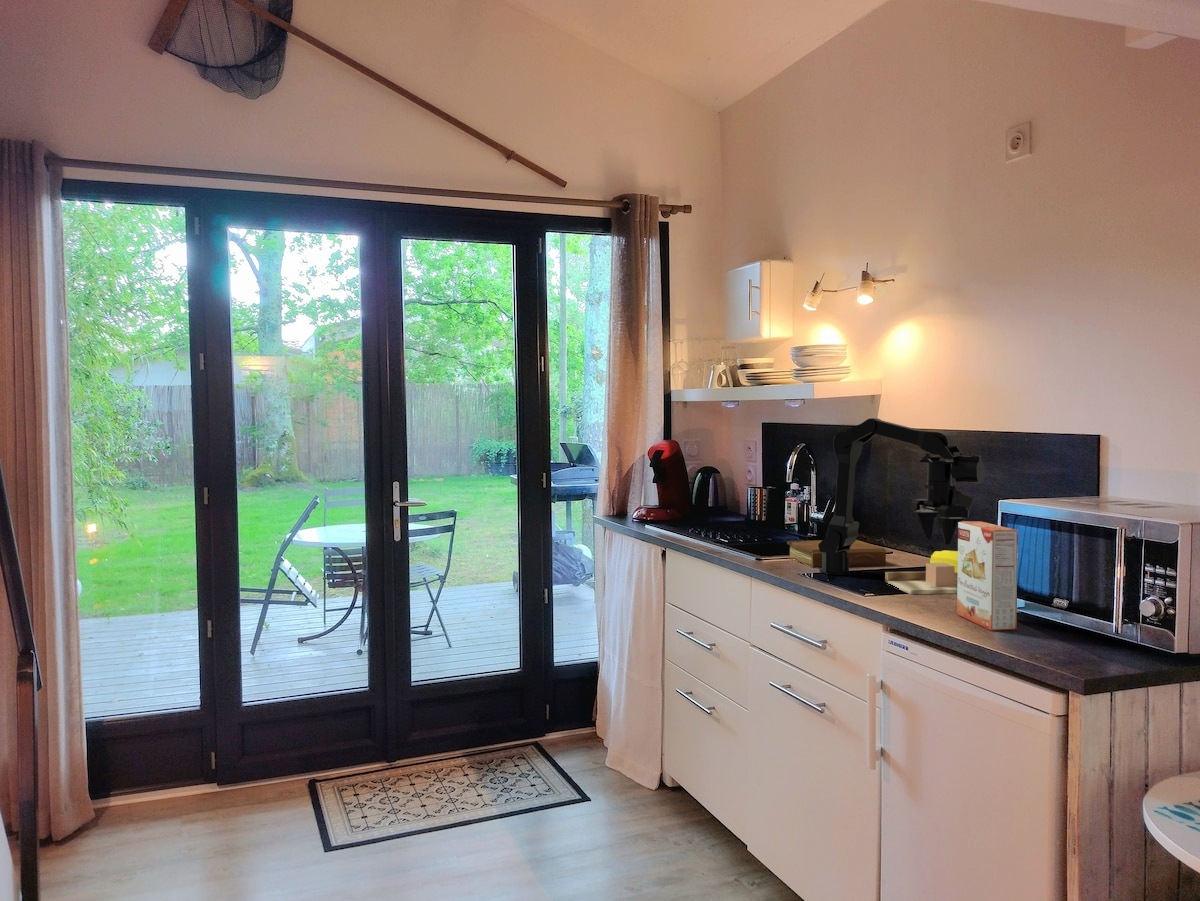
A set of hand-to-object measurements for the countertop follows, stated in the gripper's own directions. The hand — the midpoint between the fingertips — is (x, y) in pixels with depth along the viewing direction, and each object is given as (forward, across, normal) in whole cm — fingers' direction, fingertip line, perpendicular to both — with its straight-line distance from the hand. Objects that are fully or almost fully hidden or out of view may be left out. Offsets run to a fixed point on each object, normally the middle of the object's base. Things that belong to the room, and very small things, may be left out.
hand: (937, 541), depth 217 cm
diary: (+13, +41, +10) cm, 44 cm away
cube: (+11, -1, 0) cm, 11 cm away
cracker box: (+12, -37, +9) cm, 40 cm away
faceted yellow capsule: (+12, +16, -14) cm, 25 cm away
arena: (+12, 0, +2) cm, 12 cm away
